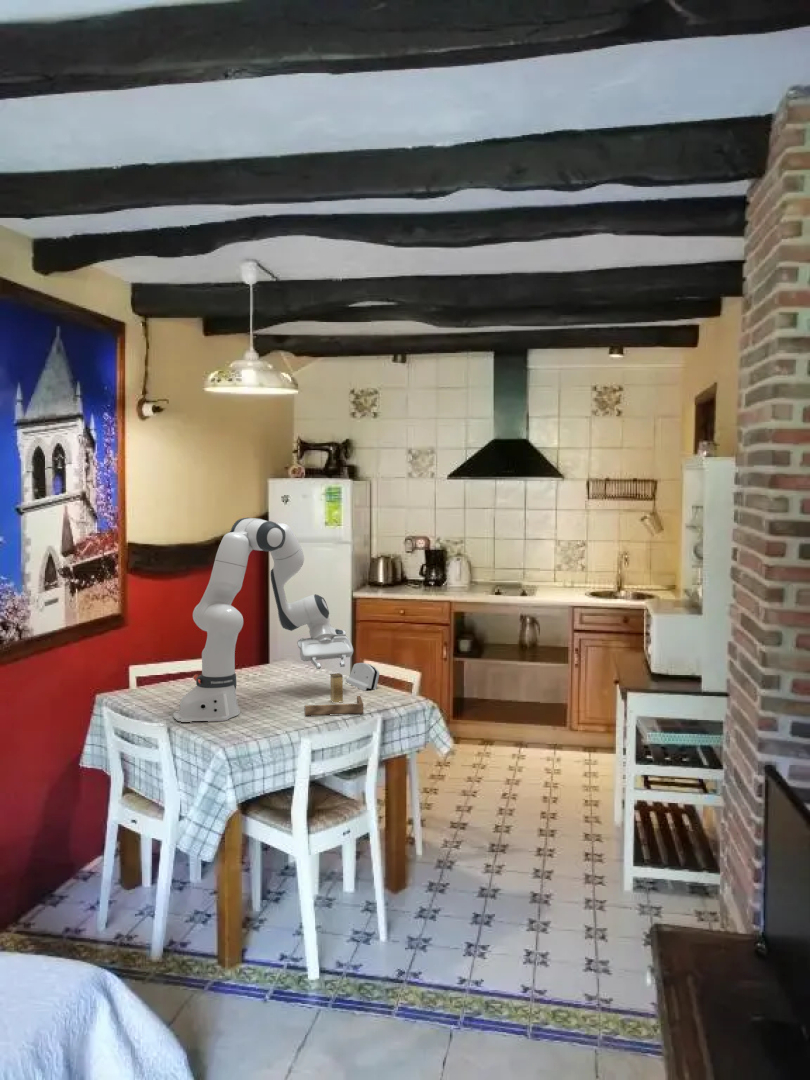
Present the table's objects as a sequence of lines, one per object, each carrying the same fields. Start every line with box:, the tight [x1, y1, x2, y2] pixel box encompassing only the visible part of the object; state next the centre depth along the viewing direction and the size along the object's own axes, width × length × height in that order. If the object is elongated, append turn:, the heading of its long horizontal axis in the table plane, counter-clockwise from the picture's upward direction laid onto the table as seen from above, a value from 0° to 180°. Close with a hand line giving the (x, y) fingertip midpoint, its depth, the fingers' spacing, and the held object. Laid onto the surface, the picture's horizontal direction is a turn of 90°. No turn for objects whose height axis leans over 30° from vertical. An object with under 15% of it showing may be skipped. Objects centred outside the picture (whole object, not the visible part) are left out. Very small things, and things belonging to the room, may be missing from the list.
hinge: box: [345, 662, 380, 692], centre depth 343 cm, size 17×5×10 cm, turn 32°
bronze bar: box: [330, 672, 344, 703], centre depth 319 cm, size 4×4×10 cm
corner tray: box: [304, 695, 364, 717], centre depth 306 cm, size 20×12×4 cm, turn 98°
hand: (330, 667), depth 325 cm, fingers open, 8 cm apart
